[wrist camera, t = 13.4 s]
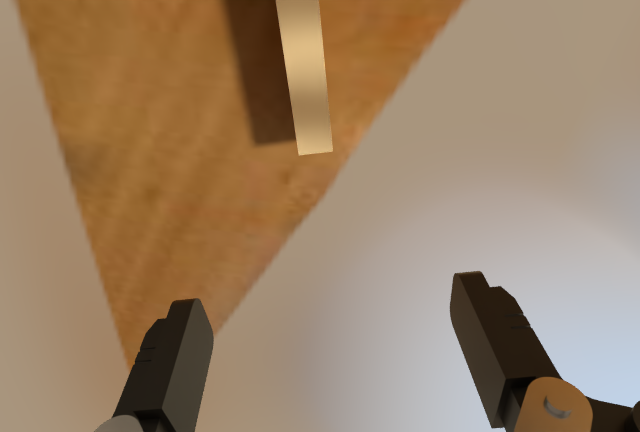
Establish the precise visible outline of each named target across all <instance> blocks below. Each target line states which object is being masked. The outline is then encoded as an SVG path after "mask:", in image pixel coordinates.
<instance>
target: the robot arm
mask: <svg viewBox="0 0 640 432" xmlns="http://www.w3.org/2000/svg"><path fill="white" fill-rule="evenodd" d="M450 316H451V321H452V325H453V328H454V330H455V333H456V336H457V338H458V341H459V344H460V346H461V349H462V351H463V354H464V356H465V359H466V362H467V365H468V367H469V370H470V372H471V375H472V378H473V380H474V383H475V386H476V388H477V391H478V393H479V396H480V399H481V401H482V404H483V407H484V409H485V412H486V414H487V417H488V420H489V422H490V425H491V428H503V427H505V430H506V432H640V401H638V402H637V403H636V404H635V406H634V407H633V408H631V407H627V406H622V405H617V404H612V403H607V402H603V401H598V400H594V399H591V398H589V397H587V396H585V395H584V394H583V393H582V392H581V391H580V390H578V389H577V388H576V387H575V386H573V385H572V384H570V383H568V382H566V381H564V380H563V379H562V378H561V377H560V375H559V373H558V372H557V370H556V369H555V367H554V365H553V363H552V362H551V360H550V358H549V356H548V355H547V353H546V351H545V350H544V348H543V346H542V344H541V343H540V341H539V339H538V337H537V336H536V334H535V332H534V331H533V329H532V328H531V327H530V324H529V322H528V320H527V318H526V317H525V316H524V315H523V312H522V310H521V308H520V306H519V305H518V303H517V301H516V300H515V298H514V297H513V296H511V295H510V294H509V293H508V292H507V291H505V290H504V289H503V288H502V287H501V286H498V287H489V285H488V283H487V281H486V279H485V277H484V275H483V274H482V272H480V271H474V272H465V273H455V274H454V277H453V284H452V293H451V302H450ZM212 350H213V331H212V328H211V325H210V323H209V320H208V318H207V315H206V313H205V310H204V308H203V305H202V303H201V301H200V299H198V298H196V299H186V300H176V301H173V302H172V304H171V306H170V309H169V312H168V315H167V318H165V319H157V321H156V322H155V323H154V324H153V325H152V327H151V328H150V329H149V330H148V331H147V333H146V334H145V337H144V339H143V342H142V344H141V347H140V352H138V354H137V357H136V359H135V365H133V367H132V370H131V372H130V375H129V377H128V380H127V382H126V385H125V387H124V390H123V392H122V395H121V397H120V400H119V402H118V405H117V407H116V410H115V412H114V414H113V416H112V418H111V419H109V420H107V421H106V422H104V423H103V424H101V425H100V426H99V427H98V428H97V429H96V430H95V431H94V432H195V427H196V422H197V418H198V413H199V408H200V404H201V400H202V395H203V391H204V386H205V382H206V377H207V372H208V368H209V363H210V359H211V355H212Z"/></svg>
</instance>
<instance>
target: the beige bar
mask: <svg viewBox="0 0 640 432" xmlns="http://www.w3.org/2000/svg"><path fill="white" fill-rule="evenodd" d="M276 6H277V12H278V19H279V26H280V32H281V39H282V46H283V52H284V59H285V66H286V72H287V79H288V86H289V93H290V99H291V106H292V113H293V119H294V126H295V133H296V139H297V146H298V153H299V155H305V154H314V153H323V152H332V151H333V147H332V136H331V126H330V115H329V105H328V94H327V83H326V73H325V62H324V52H323V41H322V30H321V20H320V9H319V0H276Z"/></svg>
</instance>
